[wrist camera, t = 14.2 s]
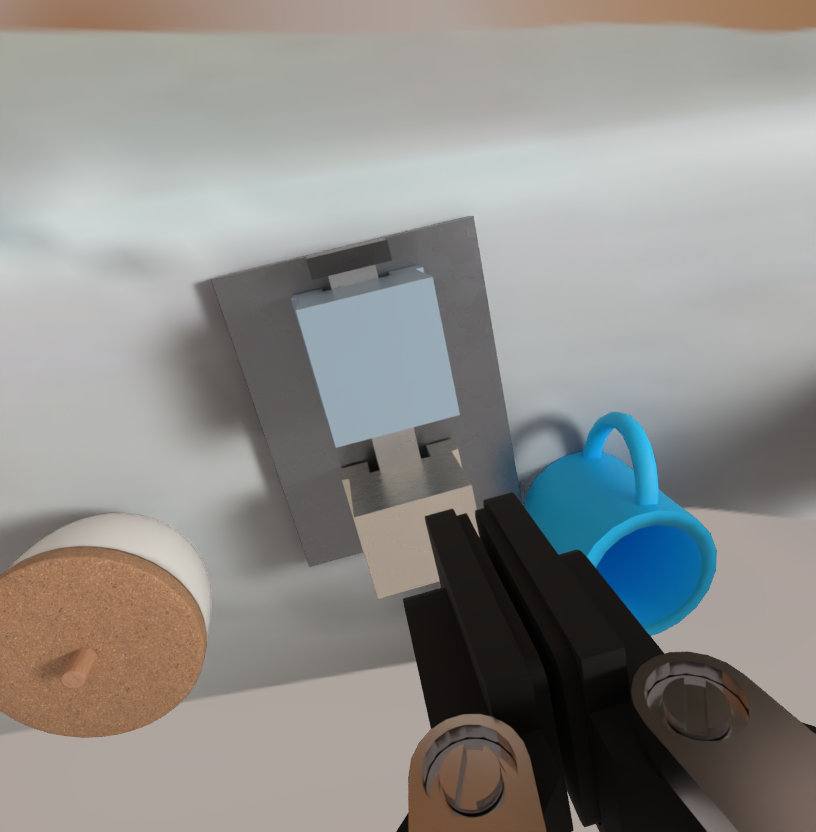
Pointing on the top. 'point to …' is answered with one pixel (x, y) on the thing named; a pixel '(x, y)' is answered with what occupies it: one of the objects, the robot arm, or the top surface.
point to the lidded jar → (102, 626)
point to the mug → (626, 525)
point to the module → (378, 355)
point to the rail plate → (303, 404)
